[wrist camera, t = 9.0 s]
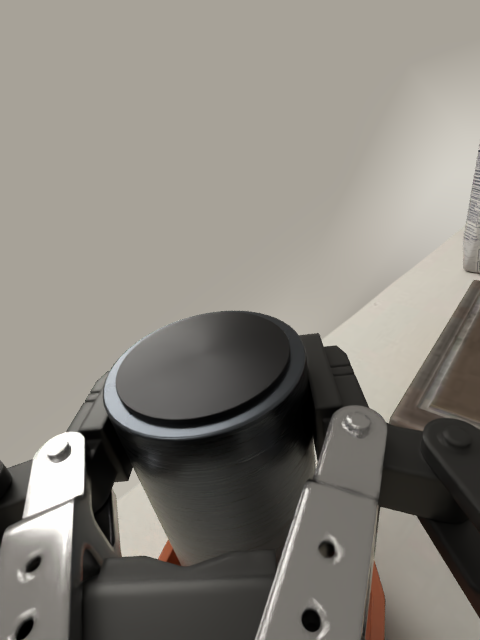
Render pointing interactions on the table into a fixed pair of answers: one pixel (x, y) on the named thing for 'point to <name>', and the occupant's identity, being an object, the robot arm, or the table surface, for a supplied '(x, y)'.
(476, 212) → the juice carton
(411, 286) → the table surface
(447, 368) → the book
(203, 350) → the black metal canister
